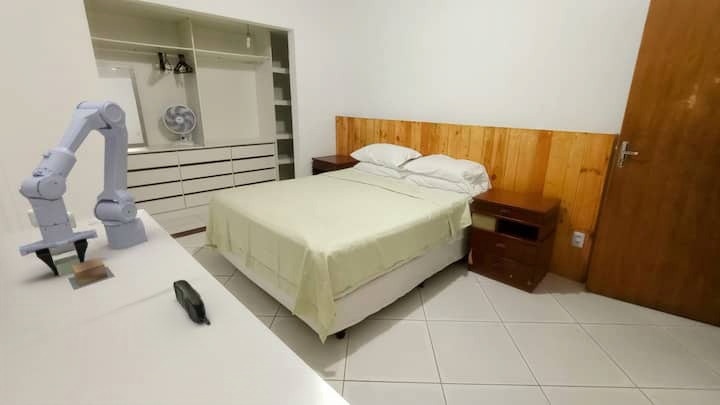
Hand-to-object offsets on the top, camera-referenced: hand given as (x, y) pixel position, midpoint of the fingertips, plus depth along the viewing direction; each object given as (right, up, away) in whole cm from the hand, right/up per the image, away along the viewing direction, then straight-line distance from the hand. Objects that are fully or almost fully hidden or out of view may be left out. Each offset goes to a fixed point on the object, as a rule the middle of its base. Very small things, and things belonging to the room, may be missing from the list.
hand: (69, 270), depth 83 cm
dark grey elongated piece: (+40, -6, -14) cm, 43 cm away
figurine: (-16, +3, +15) cm, 22 cm away
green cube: (0, -1, 0) cm, 1 cm away
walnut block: (+9, -1, -3) cm, 9 cm away
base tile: (+9, -2, -3) cm, 10 cm away
